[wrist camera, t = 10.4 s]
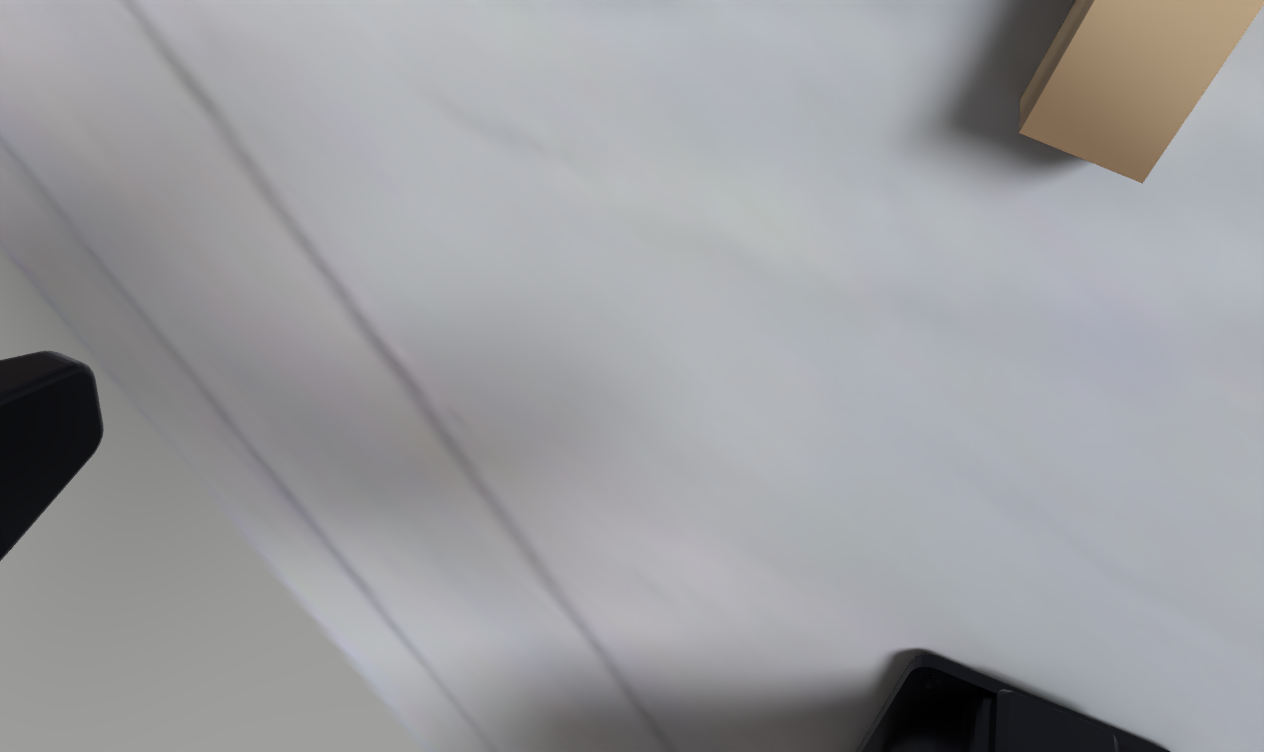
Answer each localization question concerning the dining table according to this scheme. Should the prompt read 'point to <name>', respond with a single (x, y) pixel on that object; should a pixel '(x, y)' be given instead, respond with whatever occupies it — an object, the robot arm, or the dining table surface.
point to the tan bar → (1129, 76)
